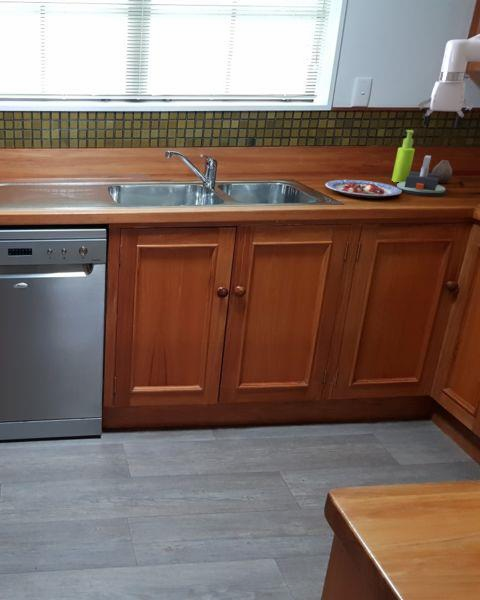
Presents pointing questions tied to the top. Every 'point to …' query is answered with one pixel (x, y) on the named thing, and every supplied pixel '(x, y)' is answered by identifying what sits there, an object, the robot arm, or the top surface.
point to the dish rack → (422, 180)
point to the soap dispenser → (404, 159)
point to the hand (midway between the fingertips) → (440, 127)
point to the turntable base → (423, 193)
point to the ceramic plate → (363, 188)
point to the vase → (443, 171)
